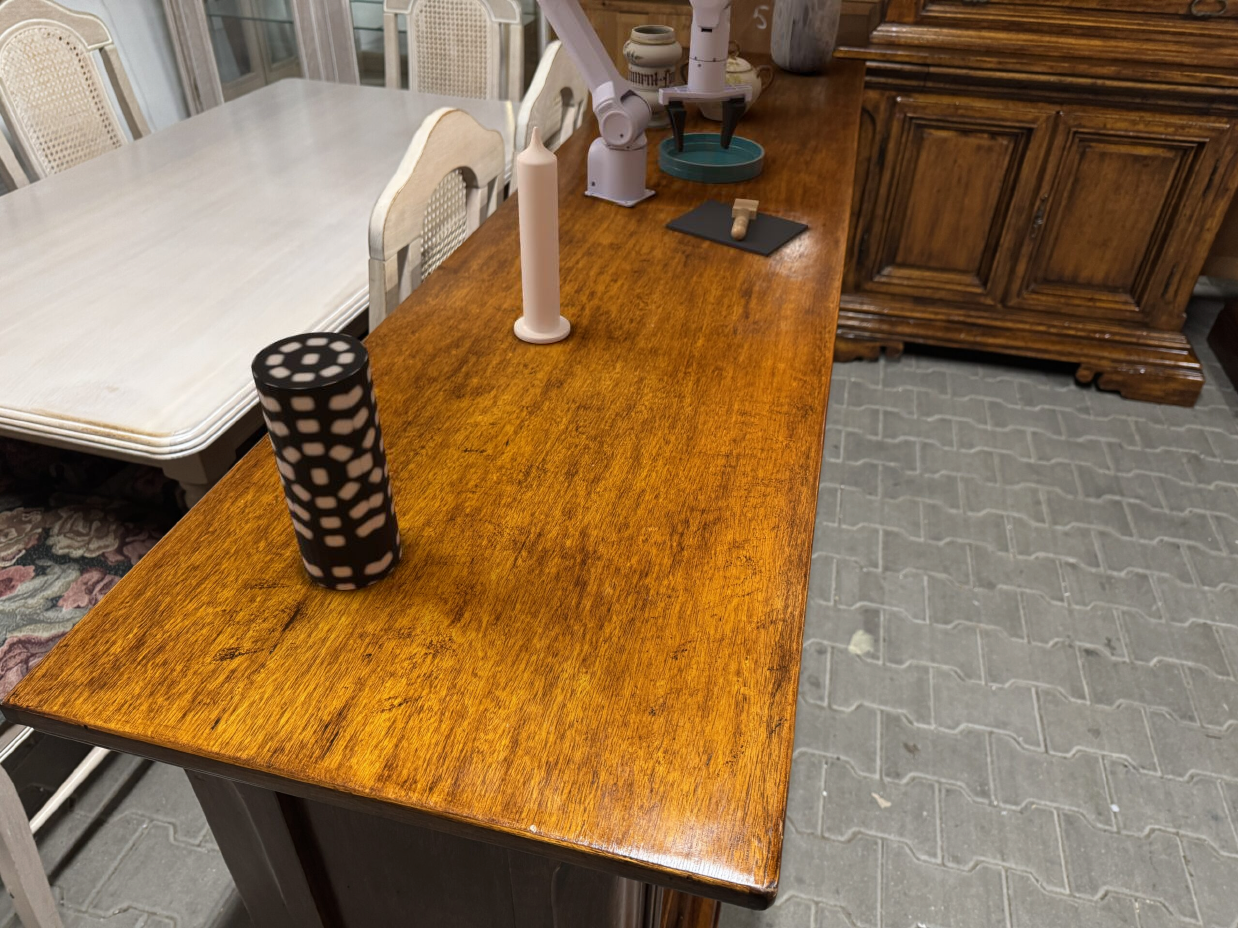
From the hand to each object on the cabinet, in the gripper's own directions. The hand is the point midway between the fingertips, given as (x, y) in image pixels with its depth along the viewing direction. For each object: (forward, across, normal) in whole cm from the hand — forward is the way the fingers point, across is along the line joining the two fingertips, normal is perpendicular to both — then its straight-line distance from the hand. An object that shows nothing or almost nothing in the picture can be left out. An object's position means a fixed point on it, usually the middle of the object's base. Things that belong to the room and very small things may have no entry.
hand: (701, 149), depth 140 cm
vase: (+10, -53, -85) cm, 100 cm away
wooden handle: (+9, -4, +10) cm, 14 cm away
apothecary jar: (+10, -4, -47) cm, 48 cm away
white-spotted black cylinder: (+10, +55, +75) cm, 94 cm away
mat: (+10, -4, +10) cm, 14 cm away
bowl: (+9, -8, -18) cm, 22 cm away
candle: (+10, +32, +38) cm, 50 cm away
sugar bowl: (+10, -21, -50) cm, 55 cm away
